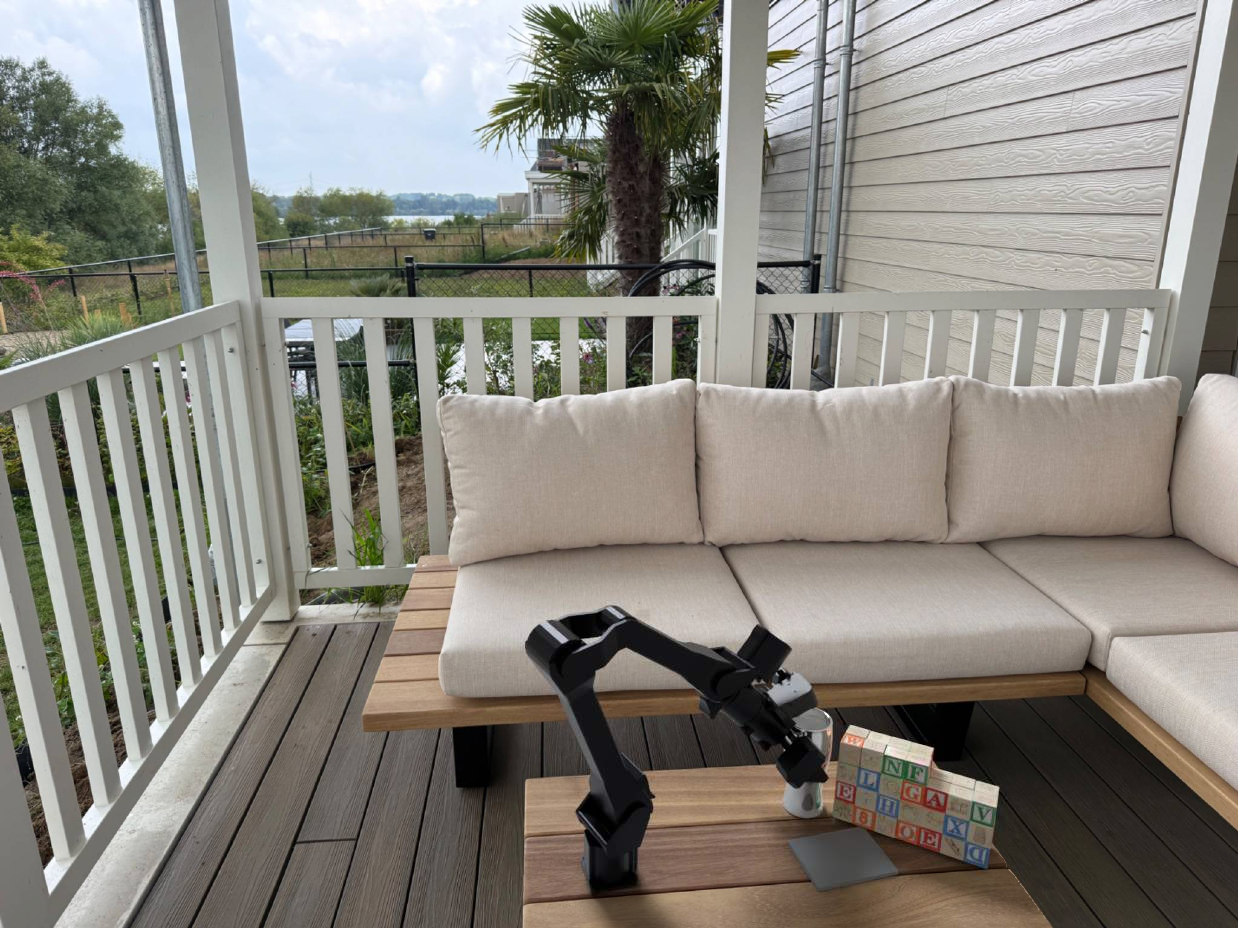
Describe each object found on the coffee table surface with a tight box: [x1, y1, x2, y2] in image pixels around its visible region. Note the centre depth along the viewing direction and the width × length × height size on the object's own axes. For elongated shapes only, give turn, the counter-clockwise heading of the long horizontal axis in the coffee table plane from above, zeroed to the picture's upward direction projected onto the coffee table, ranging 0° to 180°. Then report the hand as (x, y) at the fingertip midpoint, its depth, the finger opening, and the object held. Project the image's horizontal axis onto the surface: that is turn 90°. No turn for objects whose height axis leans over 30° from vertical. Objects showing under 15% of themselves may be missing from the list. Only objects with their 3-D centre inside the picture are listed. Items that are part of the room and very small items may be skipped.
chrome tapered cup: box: [781, 707, 834, 819], centre depth 121 cm, size 7×7×15 cm
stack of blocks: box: [831, 724, 1000, 870], centre depth 116 cm, size 21×6×12 cm, turn 61°
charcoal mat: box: [787, 826, 899, 892], centre depth 112 cm, size 12×9×1 cm
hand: (811, 760), depth 121 cm, fingers open, 9 cm apart
